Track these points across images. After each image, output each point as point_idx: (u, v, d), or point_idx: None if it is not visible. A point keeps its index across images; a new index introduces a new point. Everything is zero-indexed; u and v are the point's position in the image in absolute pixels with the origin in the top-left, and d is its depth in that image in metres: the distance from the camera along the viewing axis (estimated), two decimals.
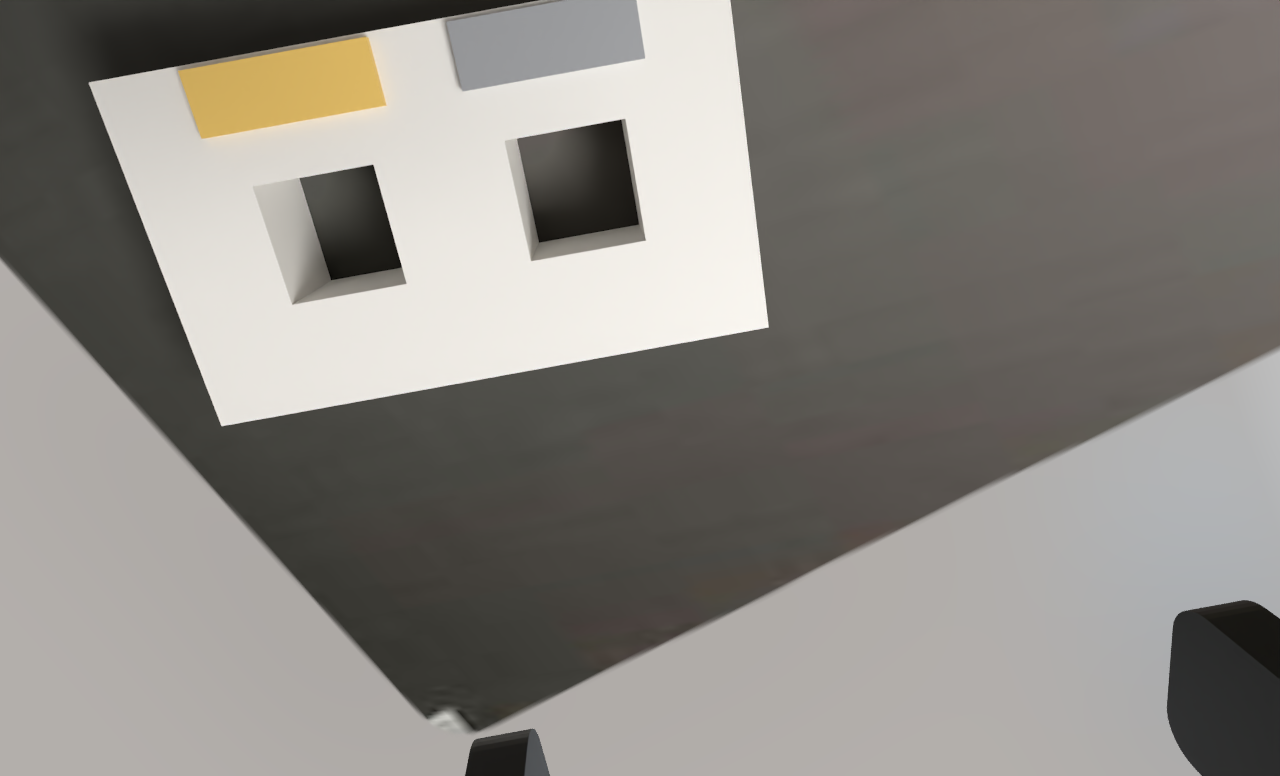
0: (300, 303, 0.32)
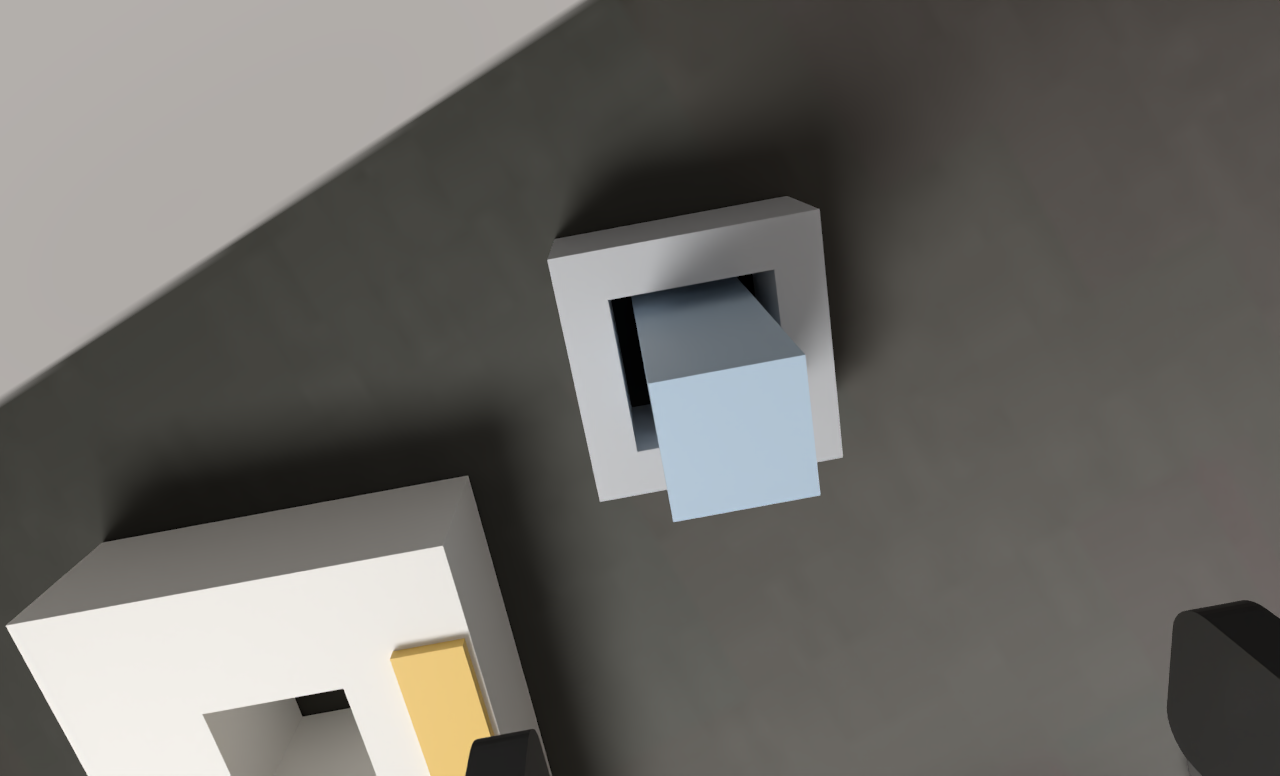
0: (206, 720, 0.26)
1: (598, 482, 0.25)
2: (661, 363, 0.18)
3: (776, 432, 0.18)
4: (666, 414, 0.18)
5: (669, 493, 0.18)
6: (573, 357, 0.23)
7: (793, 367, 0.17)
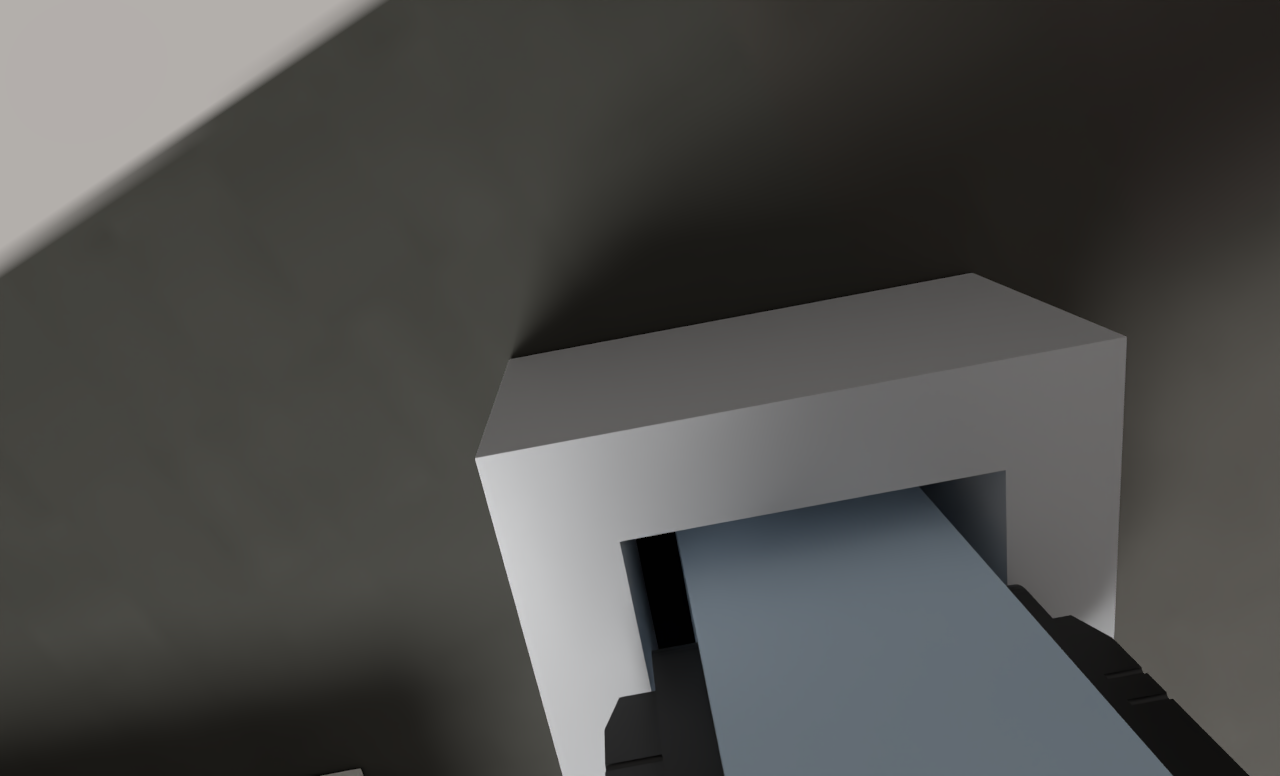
0: None
1: None
2: None
3: None
4: None
5: None
6: (541, 659, 0.10)
7: None
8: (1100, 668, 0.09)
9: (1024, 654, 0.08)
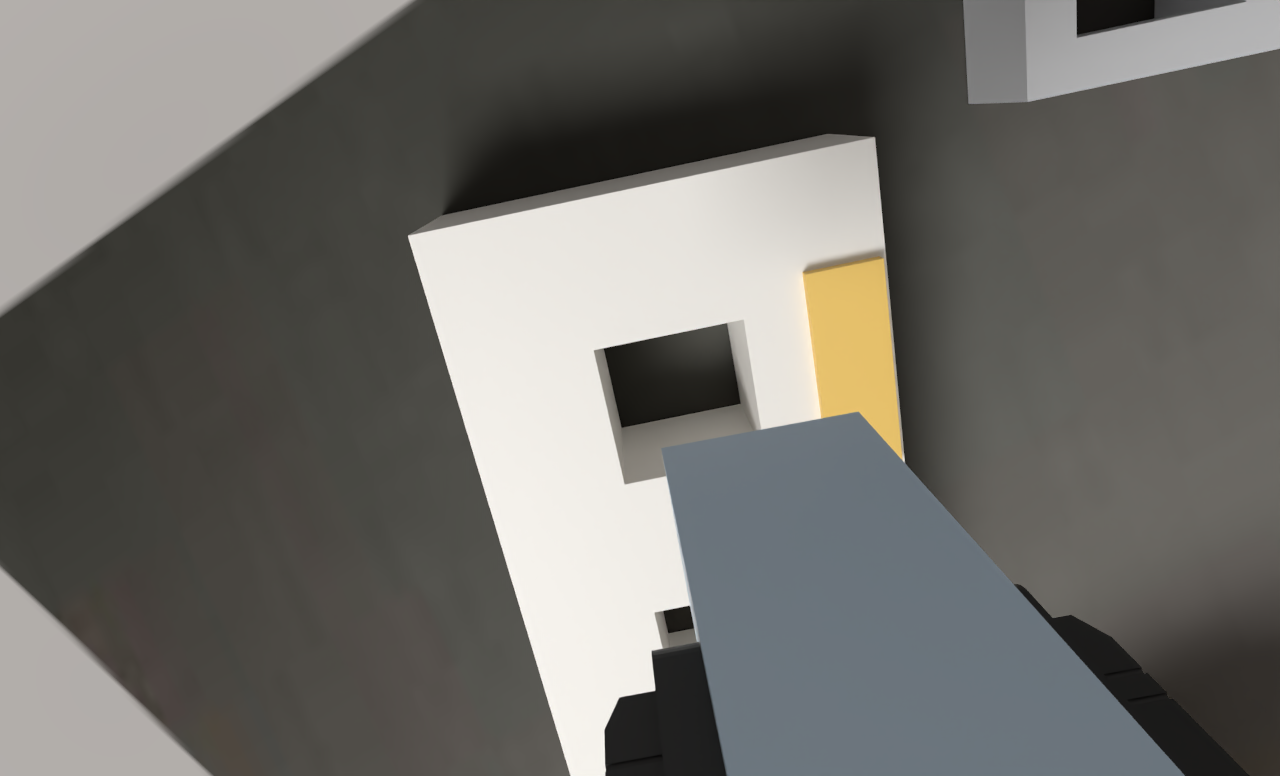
0: (595, 359, 0.24)
1: (1029, 77, 0.23)
2: None
3: None
4: None
5: None
6: None
7: None
8: (1100, 668, 0.09)
9: (1026, 646, 0.08)
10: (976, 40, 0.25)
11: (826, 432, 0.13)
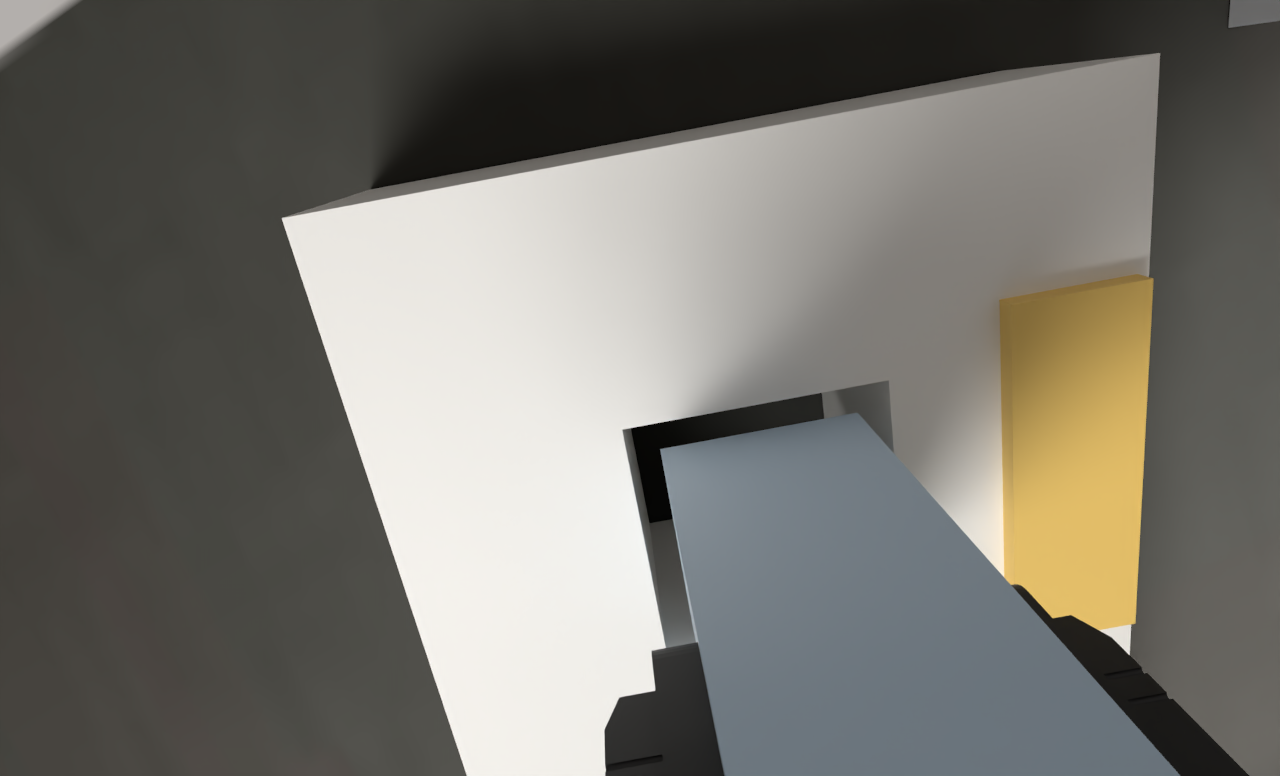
0: (623, 444, 0.14)
1: None
2: None
3: None
4: None
5: None
6: None
7: None
8: (1100, 668, 0.09)
9: (1024, 647, 0.08)
10: None
11: (825, 433, 0.13)
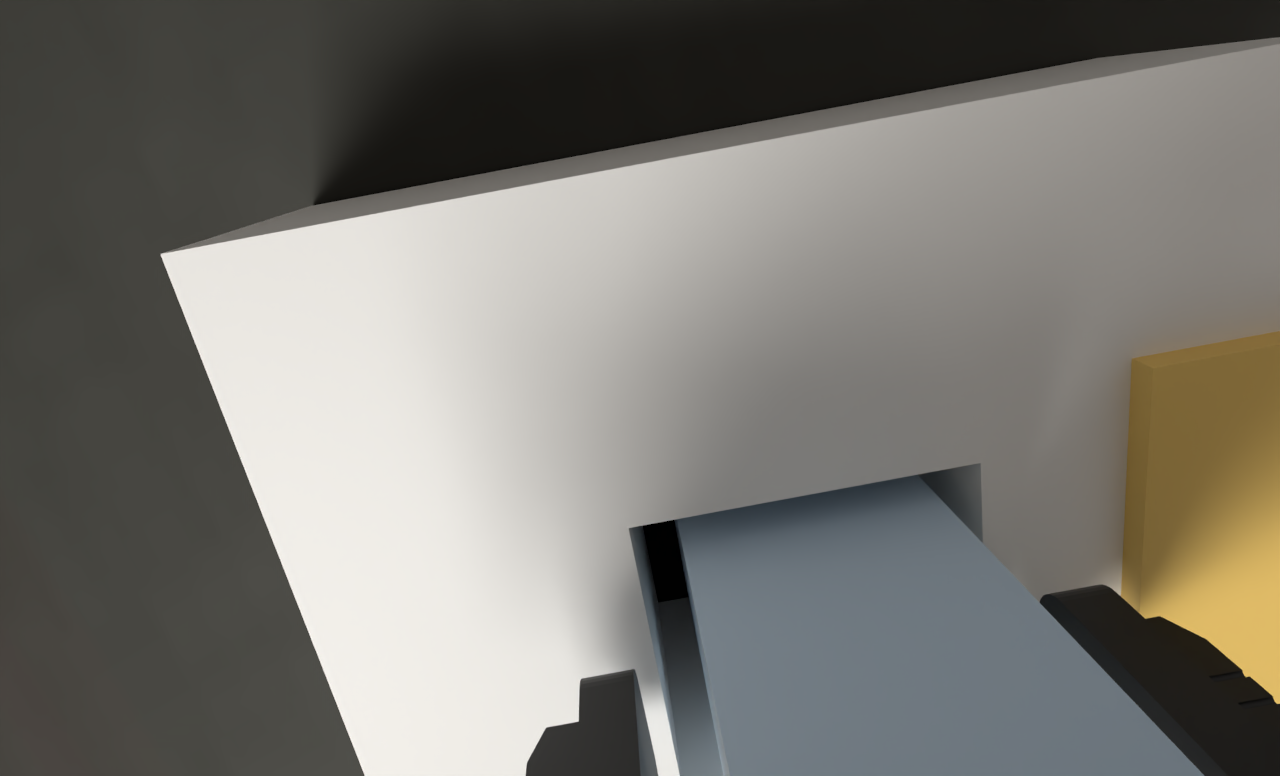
0: (630, 546, 0.10)
1: None
2: (770, 747, 0.07)
3: None
4: None
5: None
6: None
7: None
8: None
9: (959, 556, 0.09)
10: None
11: None
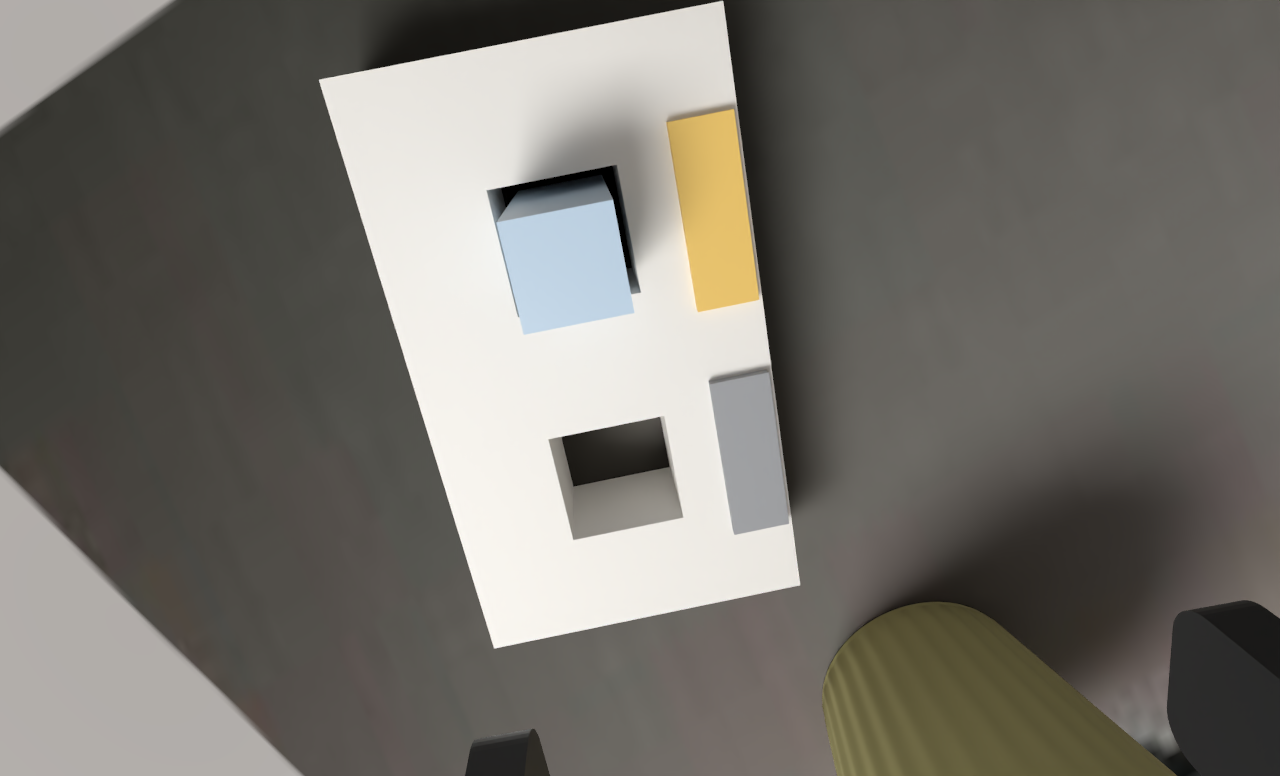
0: (488, 199, 0.28)
1: None
2: (512, 214, 0.24)
3: (596, 261, 0.24)
4: (511, 246, 0.23)
5: (519, 311, 0.24)
6: None
7: (605, 209, 0.23)
8: None
9: (597, 190, 0.27)
10: None
11: (583, 179, 0.32)
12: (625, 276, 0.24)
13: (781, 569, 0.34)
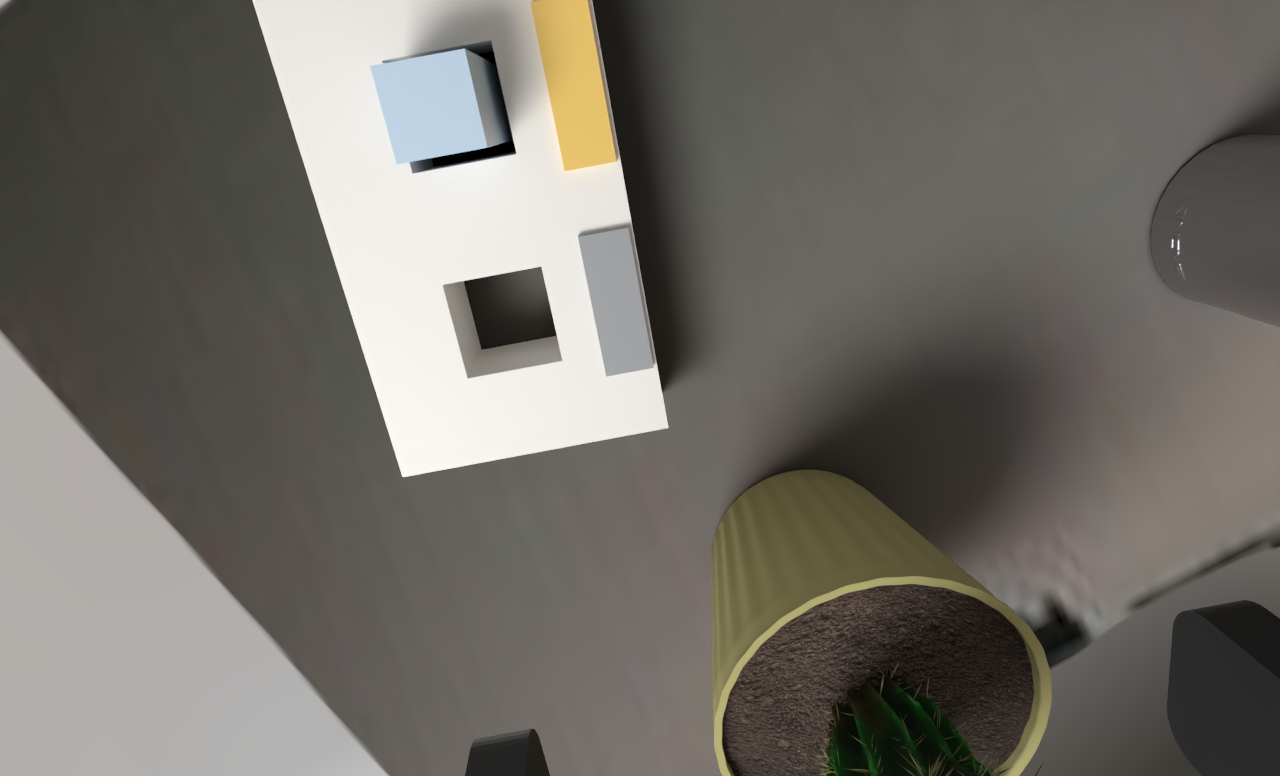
0: None
1: None
2: None
3: (454, 101, 0.29)
4: (383, 87, 0.29)
5: (392, 143, 0.30)
6: None
7: (458, 57, 0.29)
8: None
9: None
10: None
11: None
12: (478, 115, 0.29)
13: (651, 412, 0.39)
